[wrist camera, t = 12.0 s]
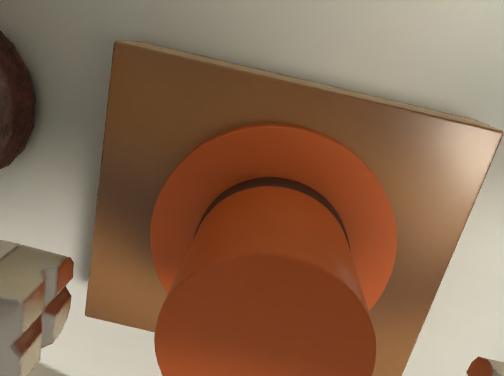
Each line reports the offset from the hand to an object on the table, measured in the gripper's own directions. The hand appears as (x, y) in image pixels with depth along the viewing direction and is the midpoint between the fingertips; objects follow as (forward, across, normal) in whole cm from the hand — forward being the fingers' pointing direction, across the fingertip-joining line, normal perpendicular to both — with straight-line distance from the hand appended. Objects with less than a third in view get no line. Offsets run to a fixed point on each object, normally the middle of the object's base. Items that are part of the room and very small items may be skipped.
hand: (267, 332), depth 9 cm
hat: (+6, 0, +1) cm, 6 cm away
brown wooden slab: (+8, 0, +1) cm, 8 cm away
